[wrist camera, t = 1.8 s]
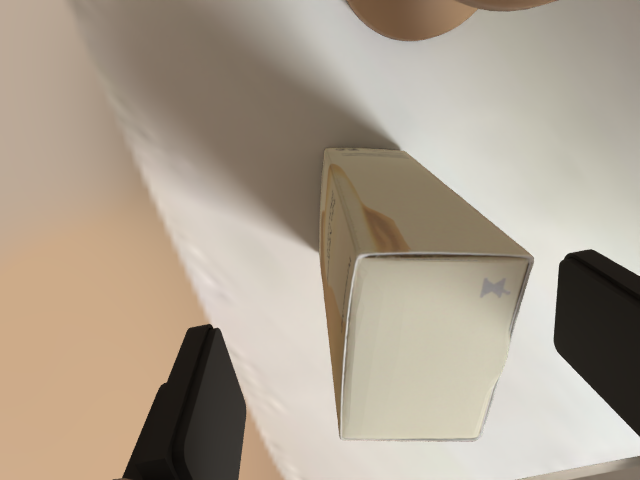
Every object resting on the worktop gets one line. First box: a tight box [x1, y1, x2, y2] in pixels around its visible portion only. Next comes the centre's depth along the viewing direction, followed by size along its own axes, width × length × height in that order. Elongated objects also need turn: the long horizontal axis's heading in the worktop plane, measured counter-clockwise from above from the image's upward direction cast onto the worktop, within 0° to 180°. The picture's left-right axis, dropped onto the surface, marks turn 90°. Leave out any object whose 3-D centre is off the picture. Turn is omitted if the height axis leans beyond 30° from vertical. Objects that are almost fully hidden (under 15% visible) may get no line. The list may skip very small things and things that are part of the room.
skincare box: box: [319, 148, 534, 442], centre depth 15 cm, size 6×4×12 cm
